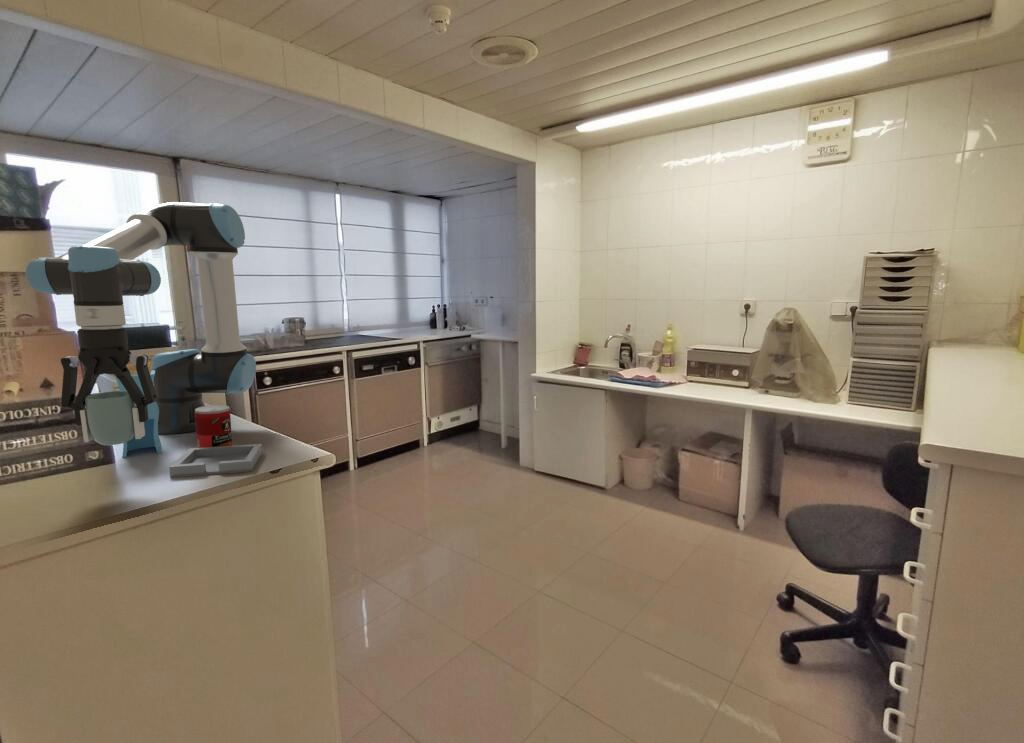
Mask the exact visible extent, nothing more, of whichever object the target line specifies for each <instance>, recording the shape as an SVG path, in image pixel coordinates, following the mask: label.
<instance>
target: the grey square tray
mask: <svg viewBox="0 0 1024 743" xmlns="http://www.w3.org/2000/svg"><path fill="white" fill-rule="evenodd" d="M262 455H263V444H262V443H255V444H252V443H251V444H238V445H232V446H219V447H203V448H198V447H191V448H189V449H187V450H186V451H185V452H184V453H183V454H182V455H181V456H180V457H179V458H177V459H176V461H174V462H173V463H172V464H171V465H170V466H169V477H170V478H181V477H182V478H183V477H184V478H185V477H194V476H196V477H197V476H205V475H206V476H209V475H210V476H211V475H221V474H222V475H223V474H233V473H234V474H235V473H236V474H237V473H247V472H253V469H254V468H255V466H256V464H257V463H258V462H259V459H260V458H261V456H262Z"/></svg>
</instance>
